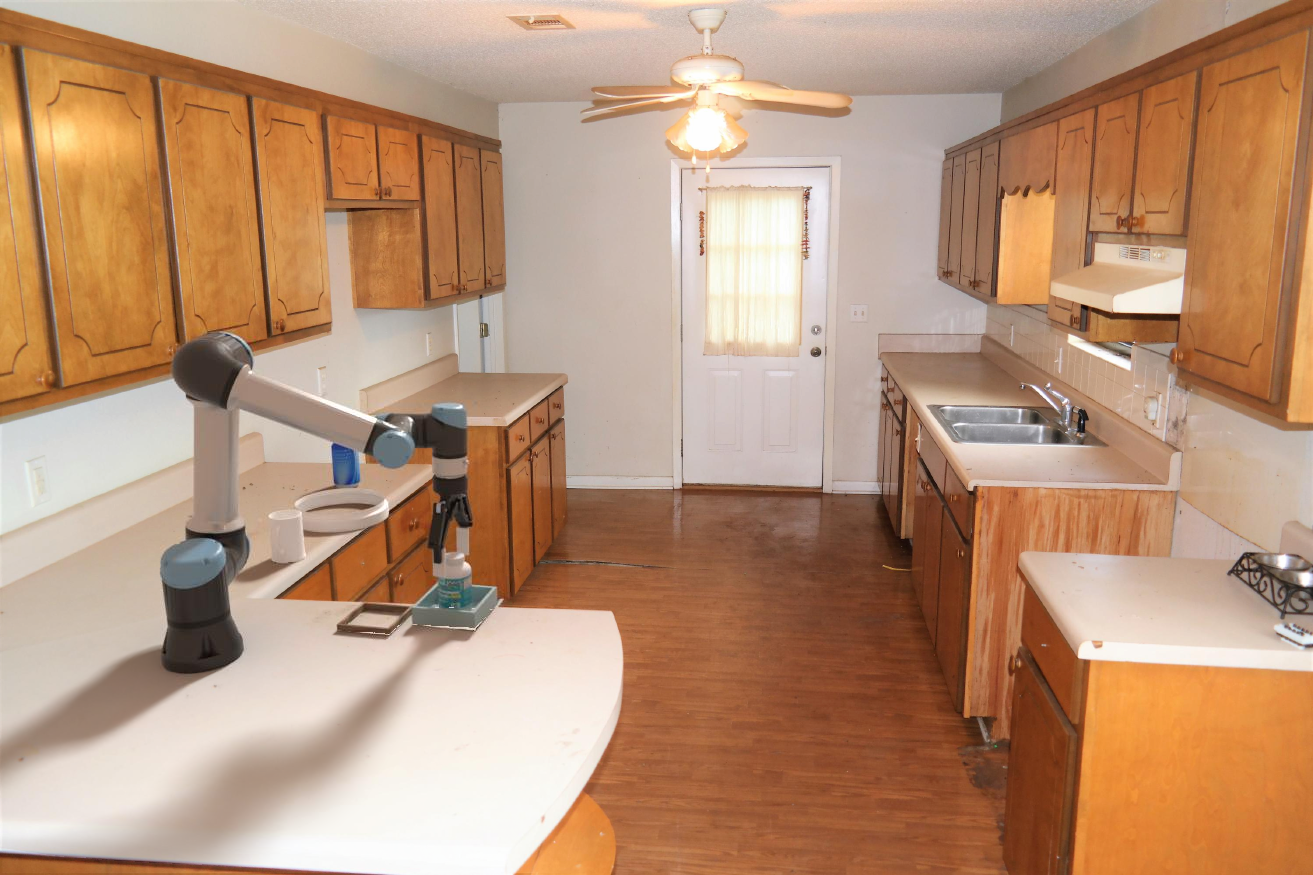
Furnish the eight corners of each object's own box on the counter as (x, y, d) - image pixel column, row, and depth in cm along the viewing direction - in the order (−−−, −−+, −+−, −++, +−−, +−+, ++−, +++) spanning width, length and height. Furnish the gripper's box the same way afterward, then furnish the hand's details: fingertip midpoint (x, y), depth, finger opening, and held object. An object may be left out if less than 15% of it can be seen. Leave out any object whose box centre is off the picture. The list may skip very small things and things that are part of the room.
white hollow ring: (335, 539, 258) (333, 521, 256) (273, 521, 272) (272, 504, 270) (407, 514, 280) (407, 496, 279) (347, 498, 294) (346, 482, 293)
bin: (475, 630, 202) (474, 612, 201) (412, 625, 205) (411, 607, 204) (497, 603, 216) (497, 586, 215) (438, 598, 219) (437, 581, 218)
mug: (291, 569, 236) (287, 524, 233) (259, 567, 236) (254, 523, 233) (311, 552, 247) (308, 509, 244) (280, 551, 248) (276, 508, 245)
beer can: (329, 488, 303) (325, 441, 300) (341, 481, 311) (338, 435, 308) (353, 490, 302) (349, 442, 298) (365, 482, 310) (362, 436, 306)
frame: (389, 635, 200) (389, 629, 199) (337, 630, 202) (336, 624, 201) (413, 612, 211) (413, 606, 211) (363, 607, 213) (363, 601, 213)
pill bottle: (432, 614, 208) (430, 558, 205) (450, 602, 215) (448, 547, 212) (461, 620, 206) (459, 563, 203) (478, 607, 213) (476, 551, 209)
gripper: (444, 491, 190) (445, 587, 195) (486, 461, 214) (486, 547, 219) (409, 488, 191) (412, 584, 196) (455, 458, 215) (456, 544, 220)
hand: (451, 564), depth 208 cm, fingers open, 13 cm apart
